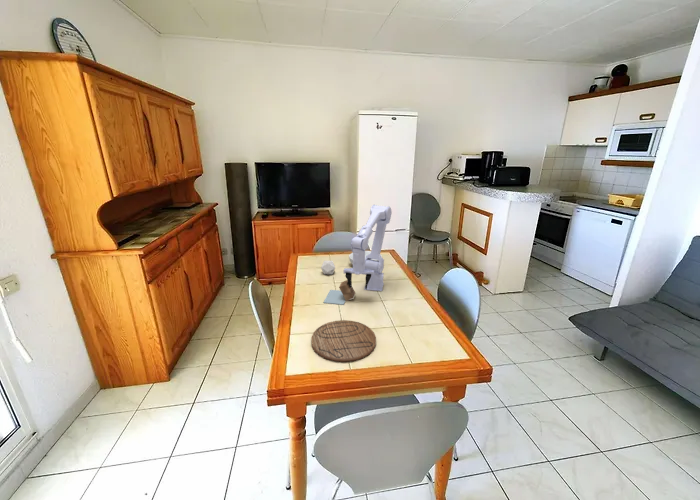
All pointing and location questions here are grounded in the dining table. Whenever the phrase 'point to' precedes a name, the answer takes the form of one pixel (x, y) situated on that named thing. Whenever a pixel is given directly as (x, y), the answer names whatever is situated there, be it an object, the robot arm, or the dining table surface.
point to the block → (347, 290)
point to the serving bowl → (365, 256)
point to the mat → (335, 297)
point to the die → (328, 267)
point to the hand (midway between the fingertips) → (358, 287)
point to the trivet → (343, 341)
